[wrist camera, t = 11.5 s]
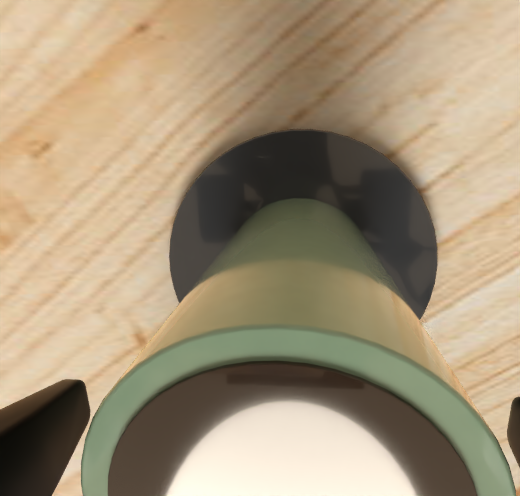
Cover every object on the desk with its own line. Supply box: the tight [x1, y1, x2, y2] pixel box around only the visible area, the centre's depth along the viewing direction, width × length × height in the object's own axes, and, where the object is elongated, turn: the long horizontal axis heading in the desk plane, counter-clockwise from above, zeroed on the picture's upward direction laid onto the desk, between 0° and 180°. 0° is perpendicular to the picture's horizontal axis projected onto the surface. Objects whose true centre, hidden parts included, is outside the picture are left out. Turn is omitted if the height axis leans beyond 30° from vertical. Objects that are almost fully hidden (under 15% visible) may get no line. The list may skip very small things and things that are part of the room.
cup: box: [81, 198, 516, 496], centre depth 11 cm, size 13×6×13 cm
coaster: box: [169, 129, 437, 320], centre depth 17 cm, size 12×12×1 cm
